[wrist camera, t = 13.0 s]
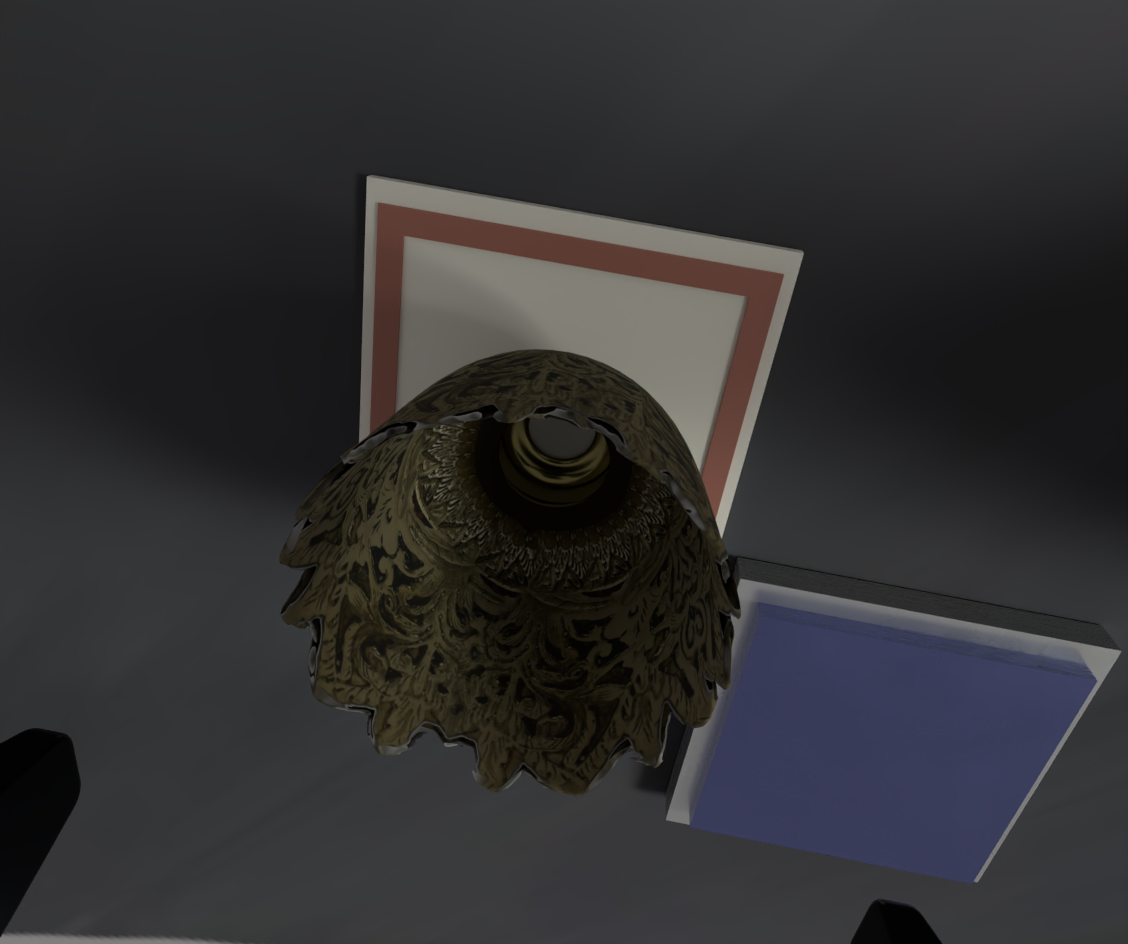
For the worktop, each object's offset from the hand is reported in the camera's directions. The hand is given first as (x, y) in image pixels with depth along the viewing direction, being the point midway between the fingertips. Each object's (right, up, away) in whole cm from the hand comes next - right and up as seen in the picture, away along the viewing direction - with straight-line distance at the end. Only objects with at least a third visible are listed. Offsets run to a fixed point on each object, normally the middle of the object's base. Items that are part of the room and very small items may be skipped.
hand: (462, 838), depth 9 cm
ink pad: (+10, -3, +14) cm, 18 cm away
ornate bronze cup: (+1, +5, +11) cm, 12 cm away
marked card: (+1, +5, +11) cm, 12 cm away
